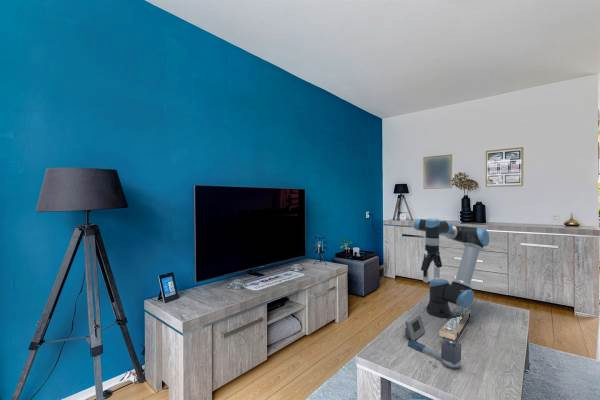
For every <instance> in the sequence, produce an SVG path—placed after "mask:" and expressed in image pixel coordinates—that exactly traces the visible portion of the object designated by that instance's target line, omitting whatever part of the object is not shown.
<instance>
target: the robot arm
mask: <svg viewBox="0 0 600 400" xmlns="http://www.w3.org/2000/svg"><path fill="white" fill-rule="evenodd" d="M413 228H414V229H415V230H417V231H419V232H420V231H422V232H425V237H424V241H425V242H424V243H425V244H424V251H425V252H427V253H424V254H423V261H422V263H421V267H420V271H422V276H423V277H422V282H424V283H429V301H428V303H427V306H426V313H428V314H429V315H431V316H433V317H437V318H449V317H448V316H449V315H450V314H451V315H452V311H451V307H450V305H449V303H450V304H454V305H457V306H459V307H463V308H468V307H469V306H471V305H472V304H473V302H474V298H475V293H474V291H473V287H472V285H471V282H472V281H473V280H472V279H473V276H474V272H475V269H476V265H477V261H478V259H479V258H478V257H479V254H480V251H482V250H483V249H484V247H487V246H488V245H489V243H490V234H489V232H488V231H487V229H485V228H482V227H481V228H480V227H474V226H463V225H453V224H452V223H451V222H450V221H449V220H440V219H439V218H426V219H422V218H417V219H415V220H414V222H413ZM440 236H443V237H446V238H447V239H450V240H453V241H456V242H459V243H463V246H464V249H463V252H462V256H461V259H460V262H459V266H458V270H457V273H456V276H455V279H454V280H452V281H451V283H449V280H447V279H445V278H444V279H443V278H440V275H441V274H440V273H441V268H442V267H443V264H442V263H443V262H442V259H441V255H440V253H441V252H440ZM431 263H434V265H435V266H434V279H431V280H430V281H429V268H430V266H431Z"/></svg>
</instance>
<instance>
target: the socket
mask: <svg viewBox="0 0 600 400" xmlns="http://www.w3.org/2000/svg"><path fill="white" fill-rule="evenodd" d="M440 348H441V349H440V350H441V352H440V354H441V359H443V360H446V361H448V362H450V363H452V364H454V365H456V364H457V363H458V362H459V361H462V343H460V342H458V341H456V340H454V339H452V338H446V339H444V340H443V341H442V342H441V346H440Z"/></svg>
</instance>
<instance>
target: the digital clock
mask: <svg viewBox="0 0 600 400" xmlns="http://www.w3.org/2000/svg"><path fill="white" fill-rule="evenodd" d="M404 323H405V329H404V330H405V331H404V335H405V337H407V338H409V339H410V340H411V339H412V340H414V341H417V339H419V338H420V337H421V336H422V335H423V334H425V332H426V329H425V325H424V322H423V318H422V316H421V314H420V313H416V314H414V315H413V316H411V317H409V318H408V319H407V320H406V321H405V322H404Z"/></svg>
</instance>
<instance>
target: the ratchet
mask: <svg viewBox="0 0 600 400" xmlns="http://www.w3.org/2000/svg"><path fill="white" fill-rule="evenodd" d="M407 346H408V347H409V348H412V349H414V350H415V351H418V352H420V353H423V354H426V355H428V356H430V357H431V358H433V359H435V360H438V361H440V362H441V363H442V365H443V366H444V367H446V368H447V369H451V370H460V369H461V361H462V360H460V361H459V362H458V363H457V364H456V365H454V364H452V363H450V362H448V361H446V360H443V359H441V352H437V351H436V350H434V349H431V348H429V347H427V346H426V345H425V344H423V343H421V342H419V341H417V340H412V339H410V340H408V341H407Z"/></svg>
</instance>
